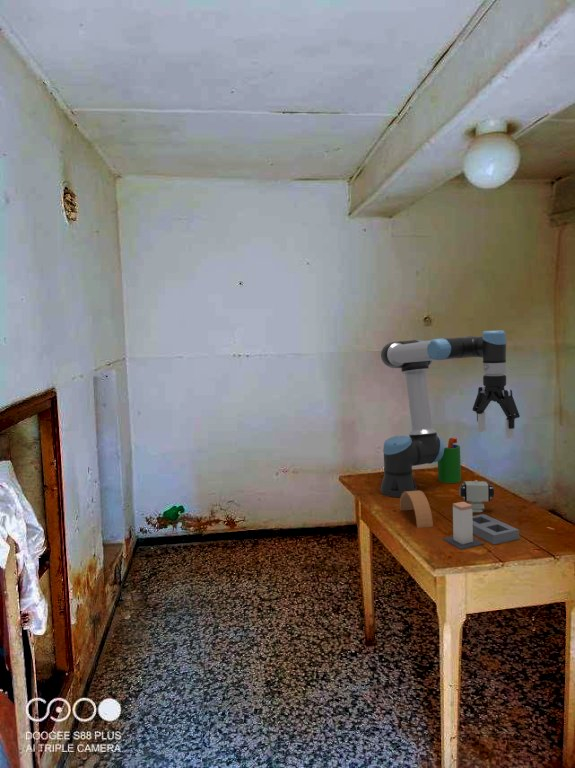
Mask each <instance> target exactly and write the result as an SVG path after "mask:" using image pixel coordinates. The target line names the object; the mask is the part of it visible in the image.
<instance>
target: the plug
mask: <svg viewBox="0 0 575 768" xmlns="http://www.w3.org/2000/svg"><path fill="white" fill-rule="evenodd" d="M470 504H471V503H469V502H467V501H460V502H459V501H458V502H456V503H452V525H453V526H452V527H453V528H452V530H453V531H452V532H453V535H452V536H453V540H455V541H457V542H459V543H461V544H466V543H470V542H473V538H474V534H473V516H474V515H473V512H472V505H470Z"/></svg>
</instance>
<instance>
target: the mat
mask: <svg viewBox="0 0 575 768" xmlns="http://www.w3.org/2000/svg"><path fill="white" fill-rule="evenodd" d="M442 540H444V541H445V542H446V543H448V544H450V545H451V546H453V547H455V548H457V549H458V550H467V549H470V548H474V547H479V546H484V545H485V543H484V542H482V541H480V540H479V539H477V538H475V537H473V542H470V543H466V544H461V543H459V542H457V541H455V540H453V535H451V536H447V537H446V536H445V537H442Z"/></svg>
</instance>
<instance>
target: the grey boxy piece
mask: <svg viewBox="0 0 575 768" xmlns="http://www.w3.org/2000/svg"><path fill="white" fill-rule="evenodd" d="M472 516H473V536H476V537H478V538H480V539H482V540H484V541H486V542H488V543H490V544H492V545H500V544H503V543H507V542H511V541H516V540H519V539H520V529H518V528H516V527H514V526H511V525H509V524H507V523H505V522H503V521H500V520H498V519H496V518H494V517H492V516H489V515H487V514H485V513H481V514H477V515H472Z"/></svg>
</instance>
